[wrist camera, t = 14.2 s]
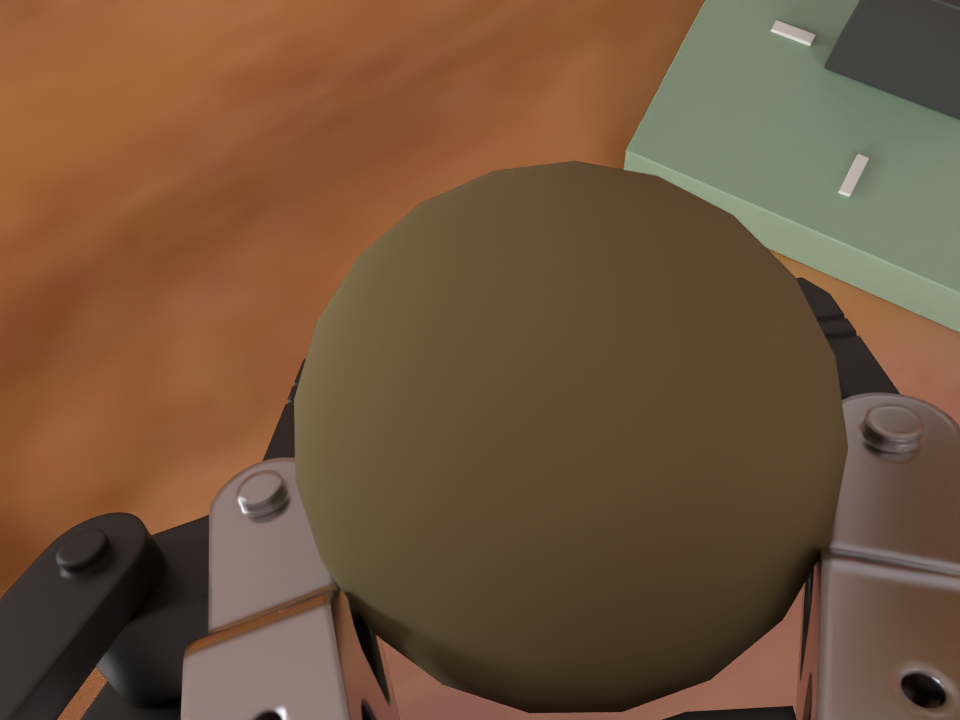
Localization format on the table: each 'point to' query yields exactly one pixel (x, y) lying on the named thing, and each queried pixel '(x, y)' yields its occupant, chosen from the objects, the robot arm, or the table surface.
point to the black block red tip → (904, 50)
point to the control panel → (810, 152)
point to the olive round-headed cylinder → (569, 438)
